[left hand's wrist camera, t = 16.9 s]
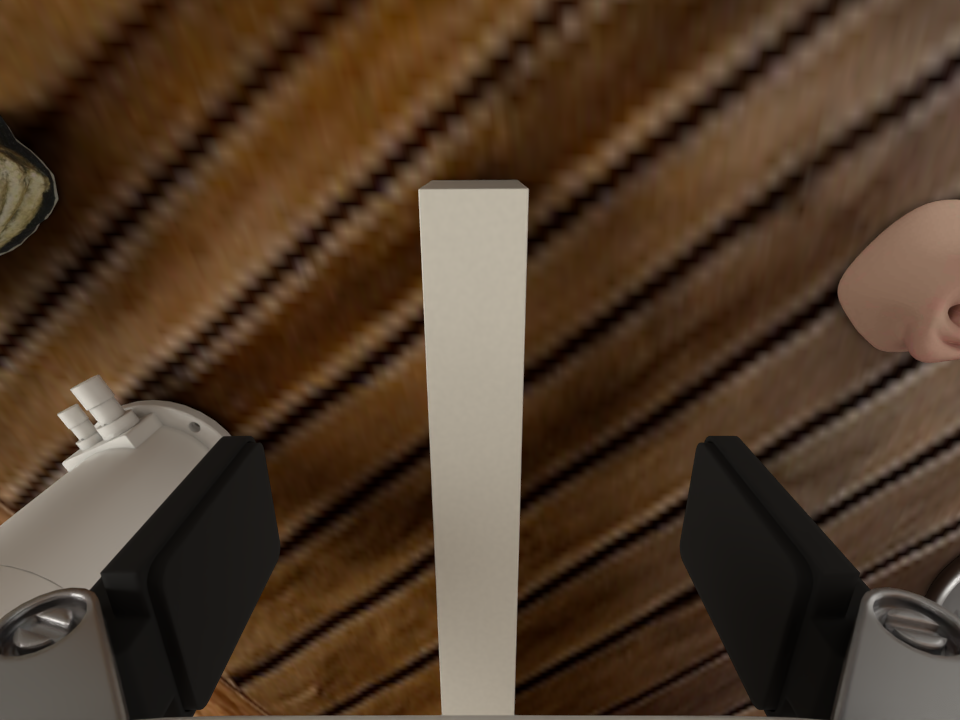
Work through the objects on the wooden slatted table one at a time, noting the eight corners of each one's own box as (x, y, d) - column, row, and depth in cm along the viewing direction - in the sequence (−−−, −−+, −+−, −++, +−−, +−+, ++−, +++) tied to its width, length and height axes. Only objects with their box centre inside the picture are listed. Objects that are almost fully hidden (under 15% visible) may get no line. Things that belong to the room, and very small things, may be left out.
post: (431, 180, 35) (418, 188, 27) (518, 179, 35) (528, 188, 27) (456, 860, 63) (452, 956, 55) (504, 860, 63) (507, 956, 55)
